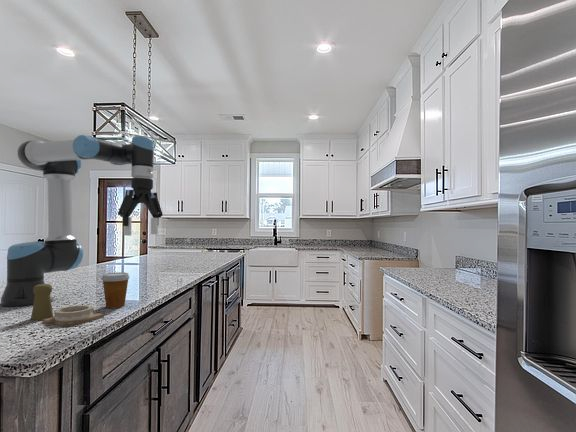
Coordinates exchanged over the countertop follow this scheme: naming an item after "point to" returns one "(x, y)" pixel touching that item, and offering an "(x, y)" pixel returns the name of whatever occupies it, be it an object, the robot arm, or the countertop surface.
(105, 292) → the disposable coffee cup
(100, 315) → the collar base
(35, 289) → the olive knobbed peg
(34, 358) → the countertop surface
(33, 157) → the robot arm
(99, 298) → the countertop surface
